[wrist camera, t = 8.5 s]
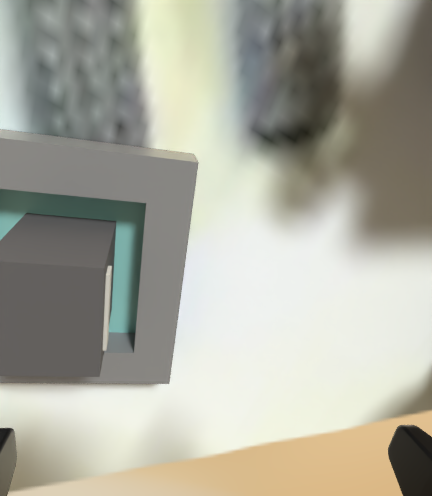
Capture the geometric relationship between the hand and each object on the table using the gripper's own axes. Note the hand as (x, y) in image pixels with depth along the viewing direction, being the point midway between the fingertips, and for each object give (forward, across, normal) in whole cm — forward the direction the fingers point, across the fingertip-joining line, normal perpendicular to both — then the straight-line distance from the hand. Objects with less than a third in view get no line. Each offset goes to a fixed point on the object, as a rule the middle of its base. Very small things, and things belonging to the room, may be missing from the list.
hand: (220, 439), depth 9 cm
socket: (+12, +6, +1) cm, 13 cm away
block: (+11, +6, +1) cm, 13 cm away
